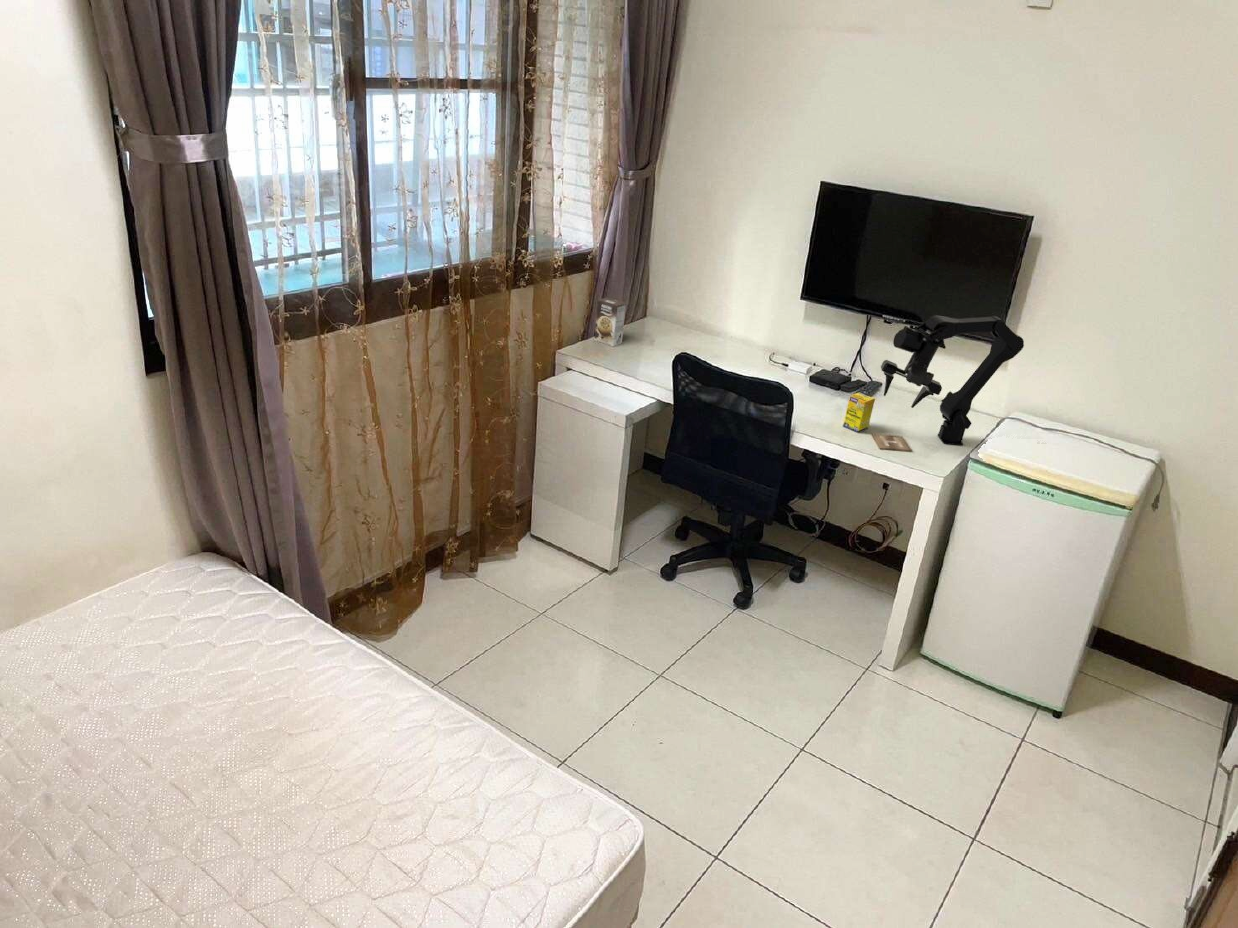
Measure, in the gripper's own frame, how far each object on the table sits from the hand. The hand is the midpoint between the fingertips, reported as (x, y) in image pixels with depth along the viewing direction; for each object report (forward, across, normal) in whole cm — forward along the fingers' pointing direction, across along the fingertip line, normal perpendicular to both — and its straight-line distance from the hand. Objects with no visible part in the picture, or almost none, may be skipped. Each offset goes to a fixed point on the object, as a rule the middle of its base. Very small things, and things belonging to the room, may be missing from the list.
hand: (897, 401), depth 275 cm
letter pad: (+13, +4, -1) cm, 13 cm away
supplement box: (+15, -7, +7) cm, 18 cm away
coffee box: (+34, -97, +50) cm, 114 cm away
